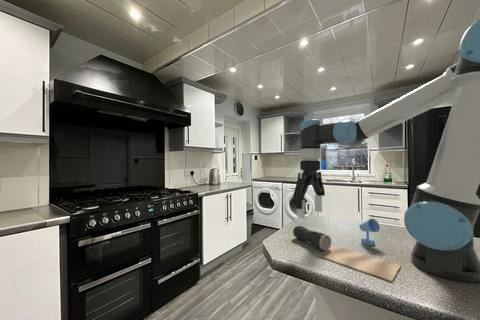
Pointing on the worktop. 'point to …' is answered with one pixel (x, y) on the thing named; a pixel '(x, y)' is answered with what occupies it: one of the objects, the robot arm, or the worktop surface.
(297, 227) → the flashlight
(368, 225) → the spotlight
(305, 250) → the worktop surface
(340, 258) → the mat
